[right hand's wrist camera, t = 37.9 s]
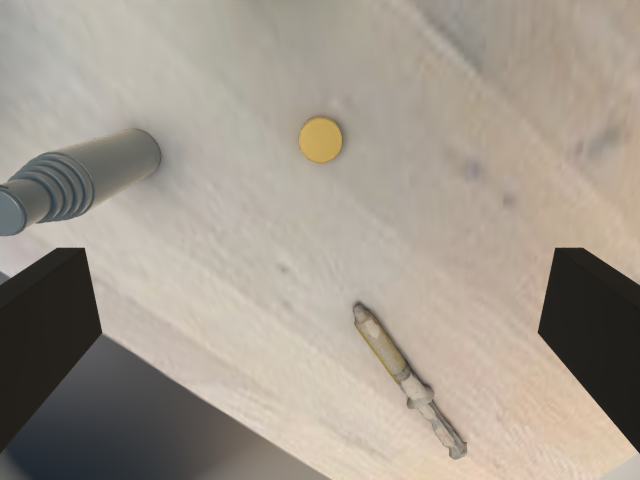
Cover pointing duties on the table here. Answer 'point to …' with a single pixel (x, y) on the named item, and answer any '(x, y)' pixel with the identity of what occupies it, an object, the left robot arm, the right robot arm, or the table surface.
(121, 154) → the bottle
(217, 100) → the table surface
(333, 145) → the cap
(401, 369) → the syringe
